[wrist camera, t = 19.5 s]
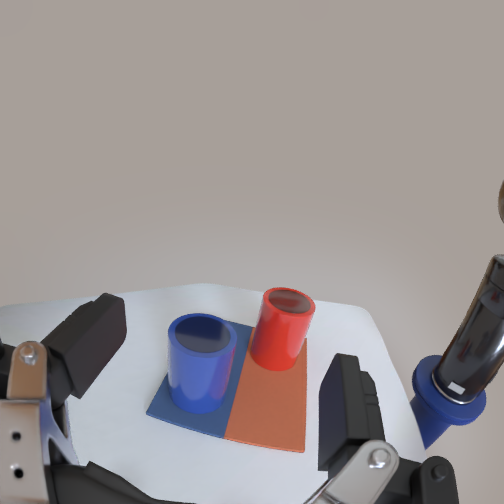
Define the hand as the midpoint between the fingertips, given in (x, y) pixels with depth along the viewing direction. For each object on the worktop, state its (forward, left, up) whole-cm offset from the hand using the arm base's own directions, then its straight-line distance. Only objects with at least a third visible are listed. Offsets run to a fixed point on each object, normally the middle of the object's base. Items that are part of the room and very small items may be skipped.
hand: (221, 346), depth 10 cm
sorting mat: (-1, -16, -19) cm, 25 cm away
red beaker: (-4, -21, -18) cm, 28 cm away
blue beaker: (+3, -12, -18) cm, 22 cm away
